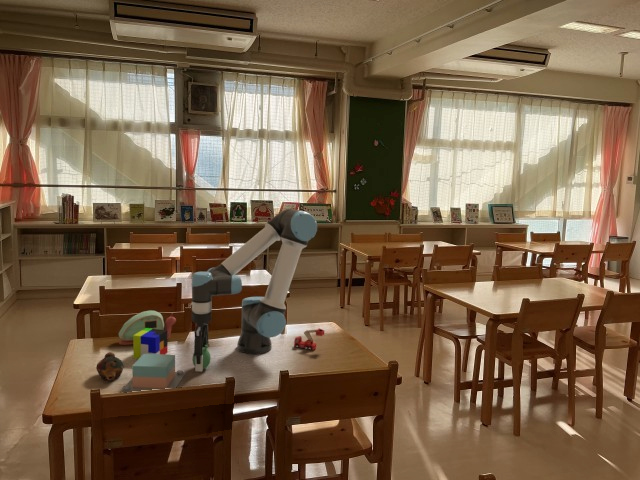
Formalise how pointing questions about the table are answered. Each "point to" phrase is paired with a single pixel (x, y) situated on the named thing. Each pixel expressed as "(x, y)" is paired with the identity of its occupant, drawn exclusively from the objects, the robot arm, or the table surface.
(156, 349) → the puzzle toy
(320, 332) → the toy fire truck
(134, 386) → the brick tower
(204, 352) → the alien toy
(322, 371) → the table surface
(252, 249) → the robot arm
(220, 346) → the table surface
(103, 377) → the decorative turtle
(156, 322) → the toy snail
